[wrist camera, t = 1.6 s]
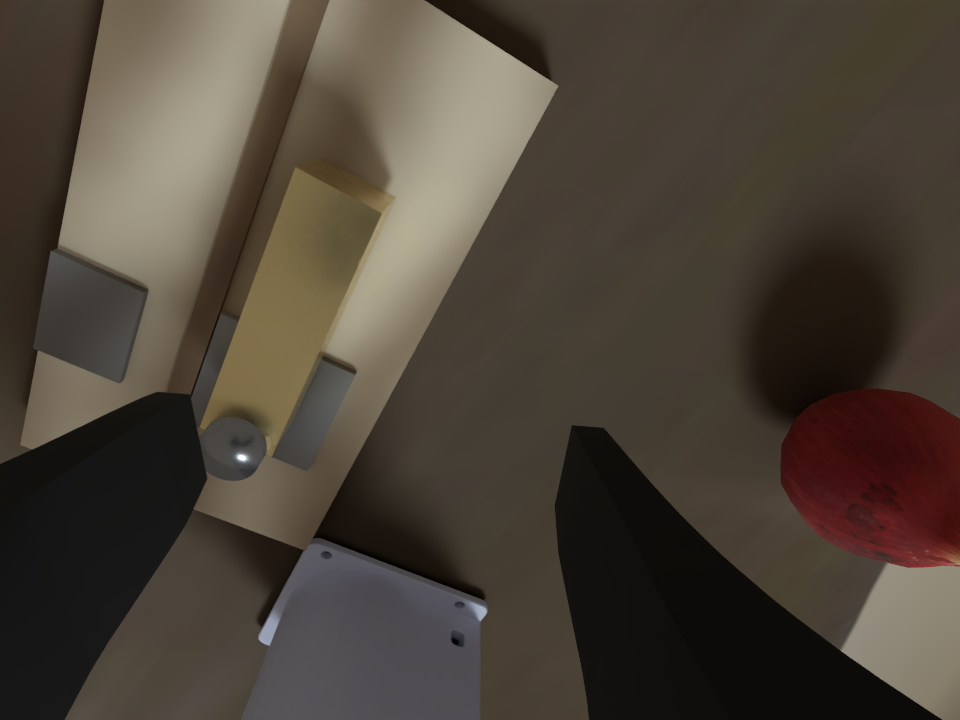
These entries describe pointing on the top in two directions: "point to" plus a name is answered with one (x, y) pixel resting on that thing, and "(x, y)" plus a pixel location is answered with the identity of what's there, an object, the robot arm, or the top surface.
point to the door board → (266, 212)
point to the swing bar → (290, 313)
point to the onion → (878, 476)
